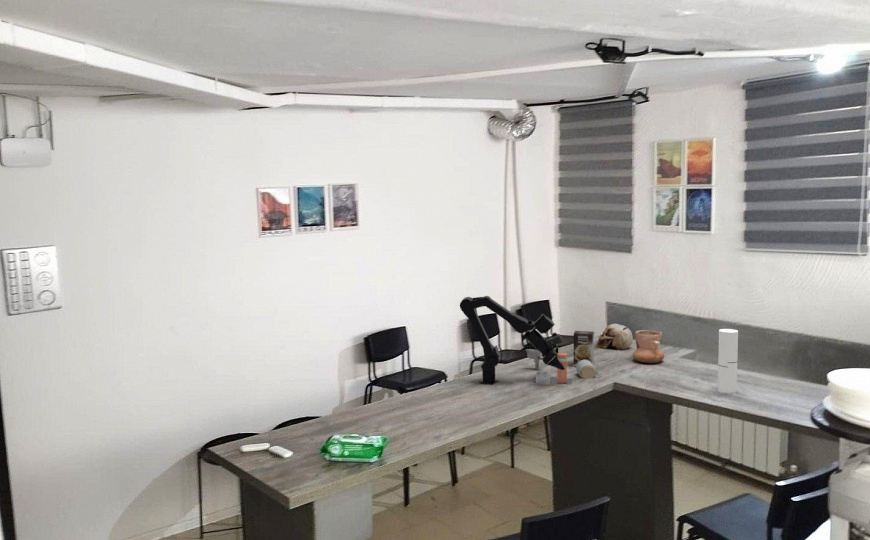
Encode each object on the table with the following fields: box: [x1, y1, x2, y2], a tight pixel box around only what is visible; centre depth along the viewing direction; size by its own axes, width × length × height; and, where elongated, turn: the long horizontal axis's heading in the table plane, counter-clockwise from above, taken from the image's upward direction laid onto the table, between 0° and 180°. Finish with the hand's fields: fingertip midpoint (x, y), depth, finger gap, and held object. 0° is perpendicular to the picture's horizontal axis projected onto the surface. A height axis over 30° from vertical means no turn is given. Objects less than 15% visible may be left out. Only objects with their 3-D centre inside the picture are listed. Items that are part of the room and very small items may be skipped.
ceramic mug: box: [575, 360, 603, 379], centre depth 312 cm, size 11×8×8 cm
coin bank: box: [595, 323, 634, 351], centre depth 367 cm, size 16×17×13 cm
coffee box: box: [572, 330, 595, 368], centre depth 333 cm, size 9×6×16 cm
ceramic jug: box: [632, 329, 665, 364], centre depth 338 cm, size 18×14×14 cm
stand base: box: [533, 371, 573, 385], centre depth 306 cm, size 16×8×4 cm, turn 79°
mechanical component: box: [525, 348, 543, 371], centre depth 325 cm, size 3×10×10 cm, turn 53°
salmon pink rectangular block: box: [556, 352, 568, 383], centre depth 304 cm, size 4×4×12 cm
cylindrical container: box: [717, 328, 739, 394], centre depth 288 cm, size 7×7×25 cm
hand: (564, 366), depth 304 cm, fingers open, 9 cm apart
